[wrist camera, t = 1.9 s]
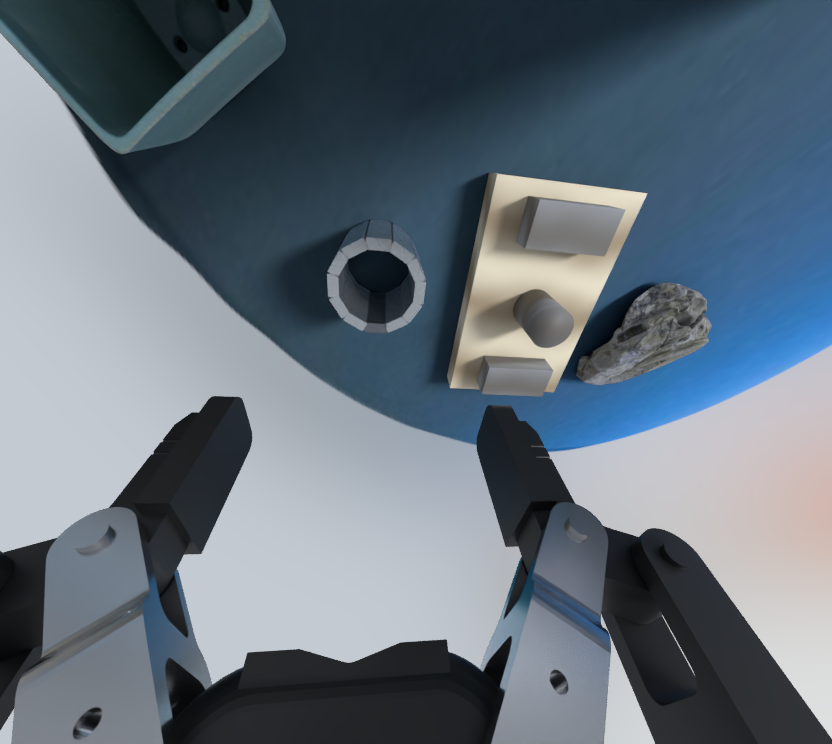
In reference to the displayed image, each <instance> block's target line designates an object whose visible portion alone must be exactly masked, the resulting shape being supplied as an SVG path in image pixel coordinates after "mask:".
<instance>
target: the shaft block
mask: <svg viewBox="0 0 832 744" xmlns="http://www.w3.org/2000/svg"><path fill="white" fill-rule="evenodd" d="M646 195H647V193H641V192H634V191H627V190H620V189H612V188H604V187H597V186H589V185H582V184H574V183H566V182H559V181H551V180H543V179H536V178H528V177H520V176H513V175H505V174H498V173H490V172H489V175H488V180H487V185H486V190H485V195H484V200H483V205H482V209H481V214H480V219H479V224H478V229H477V234H476V238H475V243H474V248H473V253H472V258H471V263H470V267H469V272H468V277H467V282H466V287H465V292H464V297H463V301H462V306H461V311H460V316H459V321H458V326H457V330H456V335H455V340H454V345H453V350H452V355H451V359H450V364H449V369H448V374H447V378H448V382H449V385H450V388H462V389H480V391H481V393H482V394H494V395H520V396H543V394H544V392H554V391H555V388H556V386H557V384H558V382H559V380H560V378H561V376H562V374H563V371H564V369H565V367H566V365H567V363H568V361H569V359H570V357H571V354H572V352H573V350H574V348H575V346H576V344H577V342H578V340H579V337H580V335H581V333H582V331H583V329H584V327H585V325H586V323H587V320H588V318H589V316H590V314H591V312H592V310H593V308H594V306H595V303H596V301H597V299H598V297H599V295H600V293H601V291H602V289H603V287H604V284H605V282H606V280H607V278H608V276H609V274H610V272H611V270H612V267H613V265H614V263H615V261H616V259H617V257H618V255H619V253H620V250H621V248H622V246H623V244H624V242H625V240H626V238H627V236H628V233H629V231H630V229H631V227H632V225H633V223H634V221H635V219H636V216H637V214H638V212H639V210H640V208H641V206H642V204H643V202H644V199H645V197H646Z"/></svg>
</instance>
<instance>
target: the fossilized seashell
mask: <svg viewBox="0 0 832 744" xmlns="http://www.w3.org/2000/svg"><path fill="white" fill-rule="evenodd" d="M706 303H707V300H706V299H705V298H704V297H702V295H701V294H700V293H699V292H698V291H695V290H692V289H690V288H688V287H685V286H683V285H680V284H673V283H670V282H667V283H661V284H658V285H655V286H654V287H652V288H650V289H648V290H647V291H645V292H644V293H643V294H641V295H640V296H639V297H638V298H636V299H635V301H634V302H633V303H632V305H631V306H630V308H629V309H628V311H627V313H626V316H625V318H624V321H623V324H622V326H621V327H620V328H618V329H617V330H616V331H615V332H614V335H613V337H612V339H611V340H610V341H609V342H608V343H606V344H604V345H603V346H601V347H599V348H598V349H596V350H594V351H593V353H592V354H591V355H590V356H582V357H581V358H580V360H579V363H578V367H577V373H576V376H578V378H580V379H581V380H582V381H583V382H584V383H588V384H593V385H604V384H609V383H618V382H621V381H624V380H627V379H629V378H633V377H636V376H639V375H641V374H644V373H646V372H649V371H651V370H653V369H656V368H659V367H661V366H664V365H666V364H668V363H670V362H673V361H675V360H677V359H679V358H681V357H683V356H686V355H688V354H690V353H692V352H694V351H696V350H698V349H700V348H701V347H703V346H704V345H705V344H706V343H707V342H708V341H709V339H707V335H708V332H709V330H710V329H711V327H712V324H711V323H710V322H709V320H708V319H707V317H706V316H705V315H704V313H705V312H706V310H707V307H706Z"/></svg>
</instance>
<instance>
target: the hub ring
mask: <svg viewBox="0 0 832 744" xmlns="http://www.w3.org/2000/svg"><path fill="white" fill-rule="evenodd" d="M366 250H377V251H387V252H390V253H392V254H393V255H395V256H396V257H397V258H399V259H400V260H402V261H403V262H404V263H406V264H407V266H408V268H409V273H408V275H407V276H406V278H405V279H404V281H403V282H402V283H401V285H400V286H399V287H397V288H395V289H392V290H390V291H388V292H386V293H385V292H372V291H369V290H367V289H366V288H364V287H363V286H361V285H360V284H358V283H357V282H356V280H355V279H354V277H353V275H352V273H351V272H350V270H349V260H348V259H350V258H352V257H354V256H356V255H358V254H360V253H362V252H364V251H366ZM327 272H328V273H327V285H328V297H330V298H329V300H330V302H331V303H332V305H333V306H334V308H335V309H336V311H337V312H338V314H339V316H340V317H341V318H343V317H344V319H343V320H344V321H346V322H347V323H349V324H351V325H353V326H354V327H356V328H358V329H360V330H361V331H363V330H364V328H365V332H376V333H386V329H387V331H388V333H389V332H391V331H393V330H396V329H398V328H400V327H403V326H405V325H407V324H408V323H407V322H409V323H410V322H411V320H412V319H413V318H414V316H415V315H416V314H417V313H418V311H419V310H420V309H421V307H422V304H423V302H424V295H425V287H426V279H425V275H424V272H423V269H422V265H421V262H420V259H419V255H418V253H417V250H416V248H415V246H414V243H413V241H412V239H411V237H410V236H409V234H408V233H406V232H405V231H404V230H402V229H401V228H400V227H398V226H397V225H396V224H395V223H392V225H391V221H381V220H372V219H371V220H370V222H369V220H367V221H365V222H363V223H361V224H359V225H357V226H356V227H354V228H352V229H351V230H349V232H348V234H347V235H346V237H345V239H344V241H343V243H342V244H341V246H340V248H339V250H338V252H337V254H336V256H335V258H334V260H333V262H332V264H331V265H330V267H329V269H328V271H327Z"/></svg>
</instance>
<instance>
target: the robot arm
mask: <svg viewBox="0 0 832 744" xmlns="http://www.w3.org/2000/svg"><path fill="white" fill-rule="evenodd" d="M251 443H252V431H251V427H250V424H249V420H248V417H247V413H246V410H245V406H244V403H243V400H242V399H241V398H240V397H221V396H214V397H211V398H210V399H209V400H208V401H207V403H206V404H205V405H204V407H203V408H202V409H201V411H200V412H199V413H191V414H189V415H188V416H186V417H185V418H184V419H182V420H181V421H179V422H178V423H176V424H175V425H174V427H173V428H172V429H171V430H170V431H169V433H168V434H167V435H166V436H165V438H164V439H163V442H161V443H160V444H159V445H158V447H157V448H156V449H155V450H154V454H153V455H151V456H150V457H149V458H148V459H147V461H146V462H145V463H144V464H143V466H142V467H141V468H140V470H139V471H138V472H137V473H136V475H135V476H134V477H133V478H132V480H131V481H130V482H129V484H128V485H127V486H126V487H125V489H124V490H123V491H122V492H121V494H120V495H119V496H118V497H117V499H116V500H115V501H114V503H113V504H112V505H111V506H110V507H109V508H107V509H103V510H99V511H97V512H94V513H92V514H90V515H88V516H86V517H84V518H82V519H80V520H79V521H77V522H75V523H74V524H73V525H71V526H70V527H69V528H67V529H66V530H65V531H64V532H63V533H62V534H61V535H60V536H59V537H58V538H55V539H52V540H48V541H44V542H40V543H37V544H33V545H30V546H26V547H22V548H19V549H15V550H11V551H7V552H4V553H2V552H1V551H0V730H1V728H2V727H3V725H4V723H5V722H6V720H7V719H8V717H9V715H10V714H11V712H12V711H13V709H14V720H13V731H12V743H11V744H604V733H605V720H606V707H607V694H608V679H609V667H610V654H611V642H610V636H611V638H612V641H613V643H614V645H615V648H616V650H617V653H618V655H619V657H620V660H621V662H622V664H623V667H624V669H625V672H626V674H627V677H628V679H629V681H630V684H631V686H632V689H633V691H634V693H635V696H636V698H637V701H638V703H639V705H640V708H641V710H642V712H643V715H644V717H645V720H646V722H647V725H648V727H649V729H650V731H651V734H652V736H653V739H654V741H655V744H832V739H831V737H830V736H829V735H828V734H827V732H826V730H825V729H824V728H823V726H822V725H821V724H820V722H819V721H818V719H817V718H816V717H815V715H814V714H813V713H812V711H811V710H810V708H809V707H808V706H807V704H806V703H805V701H804V700H803V699H802V697H801V696H800V695H799V693H798V692H797V690H796V689H795V688H794V687H793V685H792V683H791V682H790V681H789V679H788V678H787V677H786V675H785V674H784V672H783V671H782V670H781V668H780V667H779V666H778V664H777V663H776V661H775V660H774V659H773V657H772V656H771V655H770V653H769V652H768V650H767V649H766V648H765V646H764V645H763V643H762V642H761V641H760V639H759V638H758V637H757V635H756V634H755V632H754V631H753V630H752V628H751V627H750V625H749V624H748V623H747V621H746V620H745V618H744V617H743V616H742V615H741V613H740V612H739V610H738V609H737V607H736V606H735V605H734V603H733V602H732V601H731V599H730V598H729V597H728V595H727V594H726V592H725V591H724V590H723V588H722V587H721V585H720V584H719V583H718V581H717V580H716V578H715V577H714V576H713V574H712V573H711V572H710V570H709V569H708V567H707V566H706V565H705V563H704V562H703V560H702V559H701V558H700V556H699V555H698V554H697V553H696V552H695V551H694V549H693V548H692V547H690V546H689V545H688V544H687V543H686V542H684V541H683V540H682V539H680V538H679V537H677V536H676V535H674V534H672V533H670V532H668V531H665V530H662V529H656V528H652V529H648V530H646V531H645V532H644V533H643V534H642V535H641V536H640V537H636V536H633V535H630V534H626V533H623V532H620V531H617V530H613V529H610V528H607V527H604V526H603V525H602V524H601V522H600V521H599V520H598V519H597V518H596V517H595V516H594V515H593V514H592V513H591V512H590V511H588V510H587V509H585V508H583V507H582V506H579V505H577V504H575V502H574V501H573V499H572V497H571V495H570V493H569V491H568V489H567V488H566V486H565V484H564V482H563V480H562V478H561V476H560V474H559V473H558V471H557V469H556V467H555V465H554V463H553V461H552V460H551V459H550V456H549V454H548V452H547V450H546V448H544V445H543V443H542V441H541V439H540V437H539V435H538V433H537V432H536V431H535V430H534V429H533V428H532V427H531V426H530V425H529V424H528V423H527V422H526V421H519V420H518V418H517V416H516V414H515V412H514V410H513V408H512V407H511V406H496V405H489V406H487V408H486V410H485V413H484V416H483V420H482V423H481V426H480V429H479V432H478V436H477V452H478V456H479V459H480V463H481V466H482V469H483V473H484V476H485V479H486V482H487V486H488V489H489V493H490V496H491V499H492V502H493V506H494V509H495V512H496V516H497V519H498V523H499V525H500V529H501V532H502V536H503V539H504V542H505V546H506V547H511V546H519V549H520V552H521V555H522V557H521V559H520V561H519V564H518V567H517V570H516V573H515V576H514V578H513V581H512V584H511V587H510V591H509V593H508V596H507V599H506V602H505V605H504V608H503V611H502V614H501V617H500V620H499V622H498V625H497V627H496V629H495V631H494V633H493V636H492V638H491V640H490V642H489V645H488V647H487V650H486V653H485V655H484V658H483V661H482V664H481V667H480V669H479V668H478V667H476V666H475V665H473V664H472V663H471V662H469V661H467V660H466V659H464V658H462V657H460V656H458V655H456V654H453V653H449V652H448V647H447V640H435V641H434V640H433V641H418V642H404V643H399V644H396V645H394V646H391V647H389V648H387V649H384V650H382V651H380V652H378V653H375V654H372V655H370V656H367V657H365V658H363V659H360V660H358V661H355V662H352V663H345V662H341V661H338V660H334V659H331V658H328V657H324V656H321V655H317V654H314V653H311V652H307V651H303V650H300V649H296V650H281V651H266V652H250V653H247V657H246V660H245V664H244V667H243V668H241V669H238V670H236V671H234V672H232V673H230V674H229V675H227V676H225V677H223V678H222V679H220V680H219V681H217V682H216V683H214V684H213V685H212V682H211V678H210V674H209V671H208V668H207V665H206V662H205V660H204V657H203V655H202V653H201V651H200V649H199V647H198V645H197V642H196V639H195V636H194V632H193V628H192V624H191V620H190V616H189V612H188V608H187V604H186V600H185V596H184V592H183V589H182V584H181V580H180V576H179V572H178V570H177V567H178V565H179V563H180V561H181V559H182V557H183V555H184V554H201V553H202V551H203V549H204V547H205V545H206V542H207V540H208V538H209V536H210V534H211V532H212V529H213V527H214V525H215V523H216V521H217V519H218V517H219V514H220V512H221V510H222V508H223V506H224V504H225V502H226V500H227V497H228V495H229V493H230V491H231V489H232V487H233V485H234V482H235V480H236V478H237V476H238V474H239V471H240V470H241V467H242V465H243V463H244V461H245V459H246V457H247V454H248V452H249V450H250V447H251ZM601 614H602V617H603V619H604V621H605V624H606V626H607V629H608V631H609V633H610V636H609V633H608V631H607V630H606V629H604V628H603V627H602V625H601ZM662 615H663V616H664V618H665V620H666V622H667V624H668V625H669V627H670V629H671V631H672V633H673V634H674V636H675V638H676V640H677V641H678V644H679V645H680V647H681V649H682V651H683V652H684V654H685V656H686V658H687V660H688V662H689V663H690V665H691V667H692V669H693V671H694V674H695V676H694V674H693V672H692V670H691V668H690V666H689V665H688V663H687V661H686V659H685V657H684V656H683V654H682V652H681V650H680V648H679V647H678V645H677V643H676V641H675V639H674V637H673V635H672V634H671V632H670V630H669V628H668V626H667V624H666V623H665V621H664V619H663V617H662Z"/></svg>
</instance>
